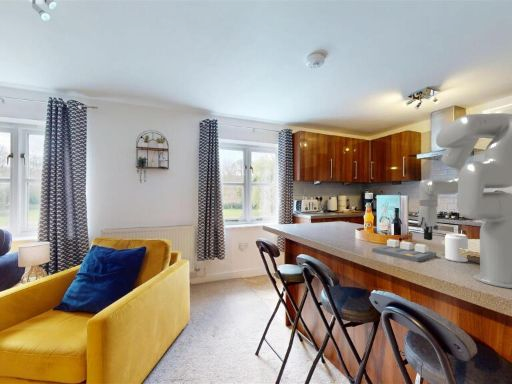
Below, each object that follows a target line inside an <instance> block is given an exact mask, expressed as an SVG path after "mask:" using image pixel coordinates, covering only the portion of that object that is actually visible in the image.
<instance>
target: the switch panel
mask: <svg viewBox="0 0 512 384" xmlns="http://www.w3.org/2000/svg"><path fill="white" fill-rule="evenodd" d="M371 249H372V250H371V252H372V253H376V254H380V255H384V256H388V257H393V258H398V259H402V260H406V261H411V262H415V263H420V262H422V261H425V260H430V259H433V258H435V257H437V252H436V251H430V250H429V252H427V253H422V252H416V251H415V247H413V249H412V250H406V249H401V248H400V245H399V247H390V246H387V244H386V245H381V246H377V247H372V248H371Z"/></svg>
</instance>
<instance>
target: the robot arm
mask: <svg viewBox="0 0 512 384" xmlns="http://www.w3.org/2000/svg"><path fill="white" fill-rule="evenodd" d="M435 138H436V139H435V143H436V146H437V147H439V148H444V149H445V148H446V149H445V151H444V152H443V155H442V156H441V158H440V159H441V162H442V164H444V165H445V166H447V167H449V168H452V169H455V171H454V173H453V175H452V177H451V178H431V179H422V180H420V182H419V209H418V216H417V217H418V218H417V219H418V220H417V226H419V227H421V229H422V231H423V239H424V240H427V241H432V240H433V231H434V228H435V226H436V225H437V223H438V212H437V208H438V201H439V200H438V199H439V198H438V196H440V195H455V194H457V196H456V199H457V200H456V208H457V211H458V213H459V215H461V216H462V217H464V218H465V219H471V220H484V221H483V222H482V224H481V226H480V229H479V272H476V273H474V279H475V280H478V281H479V282H482V283H484V284H488V285H491V286H495V287H499V288H506V289H507V288H508V289H512V193H510V192H505V191H484V190H485V189H505V188H510V187H511V188H512V113H508V112H507V113H505V112H497V113H496V112H495V113H494V112H493V113H492V112H490V113H474V114H473V113H472V114H471V113H470V114H465V115H462V116H460V117H458V118H456V119H455V120H453V121H452V122H450V123H448V124H447V125H445V126H444V127H442V128H441V129H440V130H439V132H438V133H437V135H436V137H435ZM484 138H489V139H490V138H492V139H491V141H490V142H488V144H487V146H486V148H485V150H484V152H485V153H484V154H485V155H484V160H478V161H476V160H475V161H470V162H467V160H468V159H469V157H470V156H471V154H472V152H473V150H474V148H475V147H476V145H477V143H478V142H479V140H480V139H484ZM466 162H467V163H466Z"/></svg>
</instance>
